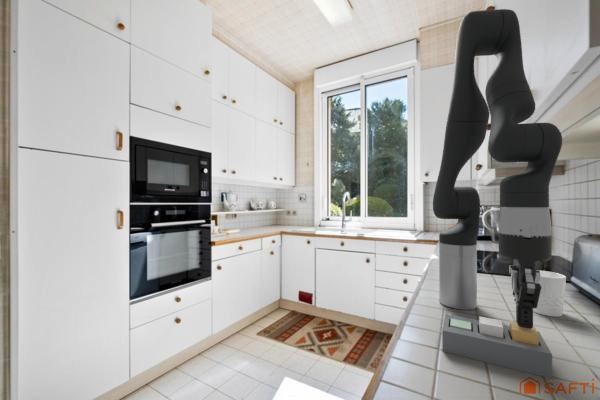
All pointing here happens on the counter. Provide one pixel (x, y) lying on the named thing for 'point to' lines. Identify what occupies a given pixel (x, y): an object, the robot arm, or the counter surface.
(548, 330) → the counter surface
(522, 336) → the amber key
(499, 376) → the counter surface
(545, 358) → the keypad
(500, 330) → the off-white key
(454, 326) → the sage green key
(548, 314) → the white cup
